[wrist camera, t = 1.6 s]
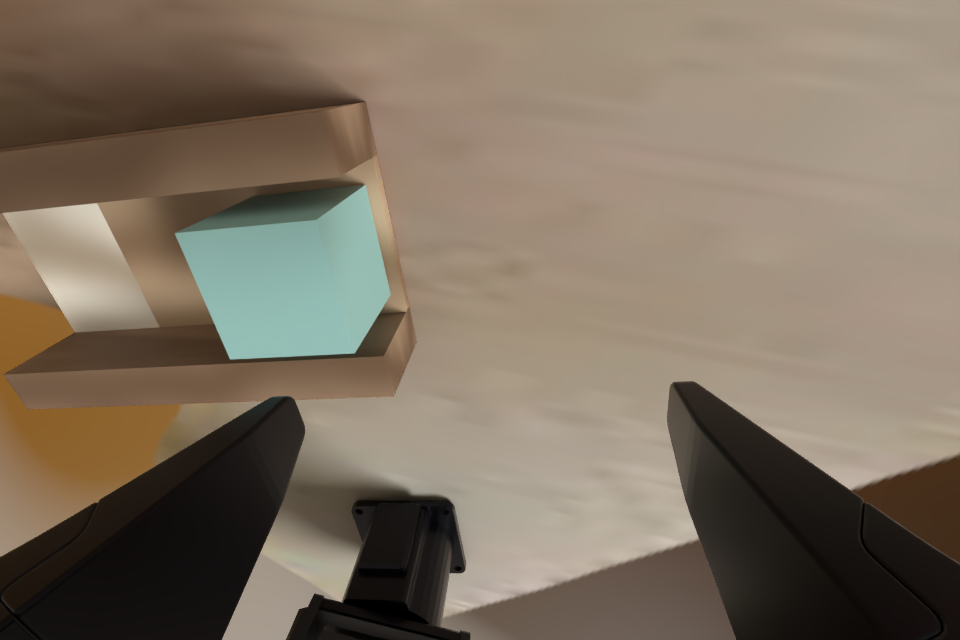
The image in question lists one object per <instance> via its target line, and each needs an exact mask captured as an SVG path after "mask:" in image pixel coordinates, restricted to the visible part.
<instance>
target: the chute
mask: <svg viewBox="0 0 960 640" xmlns="http://www.w3.org/2000/svg"><path fill="white" fill-rule="evenodd" d="M357 185H366V188H367V193H368V197H369V201H370V206H371V210H372V215H373V219H374V223H375V228H376V232H377V236H378V241H379V245H380V249H381V254H382V258H383V262H384V267H385V271H386V276H387V280H388V284H389V289H390V293H391V295H390V297H389V298H388V300H387V302H386V303H385V305H384V307H383V308H382V310H381V312H380V313H379V315H378V316H377V318H376V320H375V321H374V323H373V325H372V326H371V328H370V329H369V331H368V333H367V334H366V336H365V338H364V339H363V341H362V342H361V344H360V346H359V347H358V349H357V351H356V352H355V353H353V354H333V355H312V356H292V357H272V358H252V359H231V360H230V358H229V356H228V354H227V351H226V349H225V347H224V344H223V342H222V340H221V338H220V335H219V333H218V331H217V329H216V326H215V324H214V322H213V319H212V317H211V315H210V313H209V310H208V308H207V306H206V304H205V301H204V299H203V297H202V294H201V292H200V290H199V288H198V285H197V283H196V281H195V279H194V276H193V274H192V272H191V269H190V267H189V265H188V263H187V260H186V258H185V256H184V254H183V251H182V249H181V247H180V244H179V242H178V240H177V238H176V235H175V233H176V232H178V231H180V230H182V229H185V228H187V227H189V226H191V225H193V224H195V223H197V222H199V221H202V220H204V219H206V218H208V217H210V216H212V215H214V214H216V213H219V212H221V211H223V210H225V209H227V208H229V207H231V206H234V205H236V204H238V203H240V202H242V201H244V200H246V199H248V198H251V197H253V196H260V195H269V194H279V193H289V192H298V191H308V190H318V189H328V188H337V187H347V186H357ZM0 213H3V215H4V217H5V218H6V220H7V222H8V223H9V225H10V226H11V228H12V230H13V231H14V233H15V235H16V236H17V238H18V240H19V241H20V243H21V245H22V246H23V248H24V250H25V251H26V253H27V255H28V256H29V258H30V259H31V261H32V263H33V264H34V266H35V268H36V269H37V271H38V273H39V274H40V276H41V278H42V279H43V281H44V283H45V284H46V286H47V287H48V289H49V291H50V292H51V294H52V296H53V297H54V299H55V301H56V302H57V304H58V306H59V307H60V309H61V311H62V312H63V314H64V315H65V317H66V319H67V320H68V322H69V324H70V325H71V327H72V329H73V330H74V332H75V333H73V334H72V335H70V336H68V337H66V338H65V339H63V340H61V341H60V342H58V343H56V344H55V345H53V346H51V347H49V348H48V349H46V350H44V351H43V352H41V353H39V354H37V355H36V356H34V357H32V358H31V359H29V360H27V361H26V362H24V363H22V364H20V365H19V366H17V367H15V368H13V369H12V370H10V371H8V372H7V373H5V374H3V375H4V377H5V378H6V379H7V381H8V382H9V383H10V385H11V386H12V387H13V389H14V390H15V392H16V393H17V395H18V396H19V397H20V399H21V400H22V401H23V403H24V404H25V406H26V407H27V408H28V409H49V408H50V409H51V408H79V407H107V406H136V405H164V404H192V403H221V402H249V401H265V400H267V399H269V398H270V397H273V396H291V397H292V398H293V399H294V400H306V399H334V398H362V397H391V396H394V395H395V392H396V390H397V388H398V385H399V383H400V380H401V378H402V376H403V373H404V371H405V368H406V366H407V364H408V361H409V359H410V356H411V354H412V351H413V349H414V347H415V344H416V337H415V332H414V328H413V323H412V318H411V314H410V309H409V304H408V299H407V295H406V290H405V285H404V281H403V276H402V271H401V266H400V262H399V257H398V252H397V248H396V243H395V238H394V233H393V229H392V224H391V219H390V214H389V210H388V205H387V200H386V196H385V191H384V186H383V181H382V177H381V172H380V167H379V163H378V158H377V153H376V148H375V144H374V139H373V134H372V130H371V125H370V120H369V115H368V111H367V106H366V102H359V103H352V104H344V105H336V106H328V107H321V108H313V109H305V110H298V111H290V112H282V113H274V114H267V115H259V116H251V117H243V118H236V119H228V120H220V121H212V122H205V123H197V124H189V125H182V126H174V127H166V128H158V129H151V130H143V131H135V132H127V133H120V134H112V135H104V136H96V137H89V138H81V139H73V140H66V141H58V142H50V143H42V144H35V145H27V146H19V147H11V148H4V149H0Z"/></svg>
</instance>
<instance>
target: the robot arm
mask: <svg viewBox="0 0 960 640" xmlns="http://www.w3.org/2000/svg"><path fill="white" fill-rule="evenodd" d="M667 423H668V429H669V433H670V438H671V442H672V446H673V450H674V455H675V459H676V463H677V467H678V472H679V476H680V480H681V484H682V489H683V492H684V496H685V500H686V503H687V506H688V509H689V512H690V515H691V518H692V520H693V523H694V526H695V529H696V531H697V534H698V537H699V539H700V542H701V545H702V547H703V550H704V553H705V555H706V558H707V561H708V564H709V567H710V569H711V572H712V575H713V577H714V580H715V583H716V586H717V588H718V591H719V594H720V596H721V599H722V602H723V605H724V607H725V610H726V613H727V615H728V618H729V621H730V624H731V626H732V629H733V632H734V635H735V637H736V640H960V563H958V562H956V561H955V560H953V559H952V558H950V557H949V556H947V555H945V554H944V553H942V552H941V551H939V550H937V549H936V548H934V547H933V546H931V545H930V544H928V543H927V542H925V541H924V540H922V539H921V538H919V537H918V536H916V535H915V534H913V533H912V532H910V531H909V530H907V529H906V528H905V527H903V526H902V525H900V524H899V523H897V522H896V521H894V520H893V519H891V518H889V517H888V516H887V515H885V514H884V513H883V512H881V511H880V510H878V509H877V508H875V507H874V506H872V505H871V504H870V503H864V501H863V499H862V498H861V497H859V496H858V495H856V494H855V493H854V492H852V491H851V490H849V489H848V488H847V487H845V486H844V485H842V484H841V483H839V482H838V481H836V480H835V479H834V478H832V477H831V476H829V475H828V474H826V473H825V472H824V471H822V470H821V469H819V468H818V467H816V466H815V465H814V464H812V463H811V462H809V461H808V460H806V459H805V458H804V457H802V456H801V455H799V454H798V453H796V452H795V451H794V450H792V449H791V448H789V447H788V446H786V445H785V444H783V443H782V442H781V441H779V440H778V439H776V438H775V437H773V436H772V435H771V434H769V433H768V432H766V431H765V430H763V429H762V428H761V427H759V426H758V425H756V424H755V423H753V422H752V421H751V420H749V419H748V418H746V417H745V416H743V415H742V414H741V413H739V412H738V411H736V410H735V409H733V408H732V407H730V406H729V405H728V404H726V403H725V402H723V401H722V400H720V399H719V398H718V397H716V396H715V395H713V394H712V393H710V392H709V391H708V390H706V389H705V388H703V387H702V386H700V385H699V384H698V383H696V382H693V381H686V382H673V383H672V384H671V386H670V391H669V401H668V412H667ZM304 435H305V426H304V422H303V420H302V417H301V415H300V412H299V410H298V407H297V405H296V402H295V400H294V399H293V398H292V397H291V396H273V397H270V398H269V399H267V400H265V401H264V402H262V403H260V404H259V405H257V406H255V407H253V408H252V409H250V410H248V411H247V412H245V413H243V414H242V415H240V416H238V417H237V418H235V419H233V420H232V421H230V422H228V423H227V424H225V425H223V426H222V427H220V428H218V429H217V430H215V431H213V432H212V433H210V434H208V435H207V436H205V437H203V438H202V439H200V440H198V441H197V442H195V443H193V444H192V445H190V446H188V447H187V448H185V449H183V450H182V451H180V452H178V453H177V454H175V455H173V456H172V457H170V458H168V459H167V460H165V461H163V462H162V463H160V464H158V465H157V466H155V467H153V468H152V469H150V470H149V471H147V472H145V473H143V474H142V475H140V476H138V477H137V478H135V479H133V480H132V481H130V482H128V483H127V484H125V485H123V486H122V487H120V488H119V489H117V490H115V491H113V492H112V493H110V494H108V495H107V496H105V497H103V498H102V499H100V500H99V502H98V503H93V504H91V505H90V506H88V507H87V508H85V509H83V510H81V511H80V512H78V513H76V514H75V515H74V516H71V517H70V518H68V519H66V520H65V521H63V522H61V523H59V524H58V525H56V526H54V527H53V528H51V529H49V530H47V531H46V532H44V533H42V534H41V535H39V536H37V537H35V538H34V539H32V540H30V541H28V542H26V543H25V544H23V545H21V546H19V547H17V548H16V549H14V550H12V551H10V552H8V553H7V554H5V555H3V556H1V557H0V640H222V638H223V636H224V633H225V631H226V629H227V627H228V624H229V622H230V620H231V618H232V615H233V613H234V611H235V608H236V606H237V604H238V602H239V600H240V597H241V595H242V593H243V590H244V588H245V586H246V584H247V581H248V579H249V577H250V574H251V572H252V570H253V568H254V566H255V563H256V561H257V559H258V557H259V554H260V552H261V550H262V548H263V545H264V543H265V541H266V539H267V536H268V534H269V532H270V530H271V527H272V525H273V523H274V521H275V518H276V516H277V514H278V512H279V509H280V507H281V504H282V502H283V499H284V497H285V494H286V491H287V488H288V485H289V482H290V479H291V476H292V473H293V470H294V467H295V463H296V460H297V457H298V454H299V451H300V448H301V445H302V442H303V439H304ZM352 514H353V517H354V519H355V522H356V525H357V528H358V530H359V533H360V536H361V539H362V542H363V543H362V546H361V549H360V552H359V555H358V557H357V560H356V563H355V566H354V569H353V572H352V574H351V577H350V580H349V583H348V586H347V588H346V591H345V594H344V597H343V600H342V602H338V601H334V600H330V599H326V598H324V596H322V595H319V594H314V596H313V598H312V600H311V602H310V604H309V606H308V607H305V608H302V609H299V611H298V613H297V616H296V618H295V620H294V623H293V625H292V627H291V630H290V632H289V634H288V637H287V639H286V640H470V632H466V631H462V630H461V631H460V632H458V631H453V630H449V629H446V628H442V627H441V622H442V617H443V611H444V605H445V598H446V592H447V586H448V580H449V574H450V573H463V572H464V571H465V568H466V560H465V556H464V551H463V546H462V541H461V536H460V532H459V527H458V522H457V517H456V512H455V507H454V505H453V504H452V503H451V502H449V501H357V502H355V503H354V505H353V508H352Z"/></svg>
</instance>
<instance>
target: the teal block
mask: <svg viewBox="0 0 960 640" xmlns="http://www.w3.org/2000/svg"><path fill="white" fill-rule="evenodd" d="M175 235H176V238H177V240H178V242H179V244H180V247H181V249H182V251H183V254H184V256H185V258H186V260H187V263H188V265H189V267H190V269H191V272H192V274H193V276H194V279H195V281H196V283H197V285H198V288H199V290H200V292H201V294H202V297H203V299H204V301H205V304H206V306H207V308H208V310H209V313H210V315H211V317H212V319H213V322H214V324H215V326H216V329H217V331H218V333H219V335H220V338H221V340H222V342H223V344H224V347H225V349H226V351H227V354H228V356H229V358H230V360H231V359H252V358H272V357H292V356H312V355H333V354H353V353H355V352H356V351H357V349H358V347H359V346H360V344H361V342H362V341H363V339H364V338H365V336H366V334H367V333H368V331H369V329H370V328H371V326H372V325H373V323H374V321H375V320H376V318H377V316H378V315H379V313H380V312H381V310H382V308H383V307H384V305H385V303H386V302H387V300H388V298H389V297H390V295H391V293H390V289H389V284H388V280H387V276H386V271H385V267H384V262H383V258H382V254H381V249H380V245H379V241H378V236H377V232H376V228H375V223H374V219H373V215H372V210H371V206H370V201H369V197H368V193H367V188H366V185H357V186H347V187H337V188H328V189H318V190H308V191H298V192H289V193H279V194H269V195H260V196H253V197H251V198H248V199H246V200H244V201H242V202H240V203H238V204H236V205H234V206H231V207H229V208H227V209H225V210H223V211H221V212H219V213H216V214H214V215H212V216H210V217H208V218H206V219H204V220H202V221H199V222H197V223H195V224H193V225H191V226H189V227H187V228H185V229H182V230H180V231H178V232H176V233H175Z"/></svg>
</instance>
